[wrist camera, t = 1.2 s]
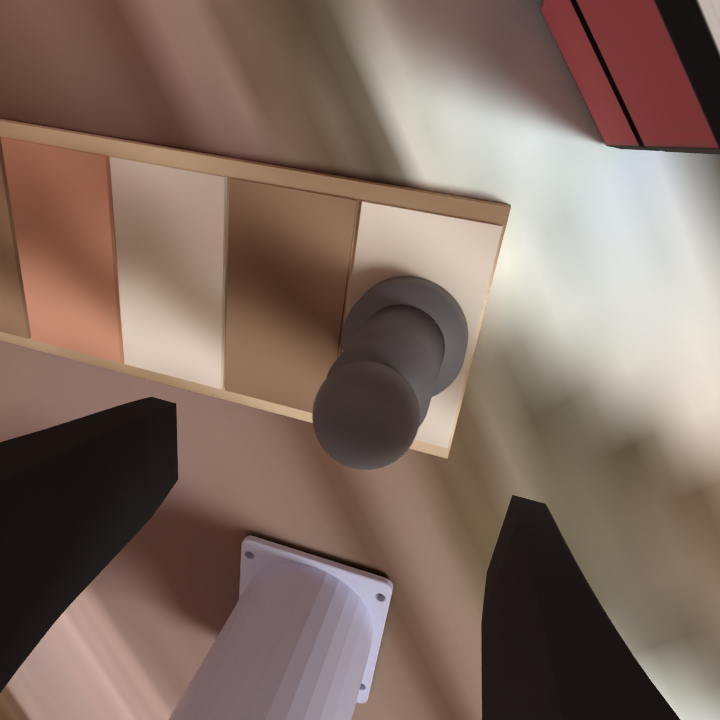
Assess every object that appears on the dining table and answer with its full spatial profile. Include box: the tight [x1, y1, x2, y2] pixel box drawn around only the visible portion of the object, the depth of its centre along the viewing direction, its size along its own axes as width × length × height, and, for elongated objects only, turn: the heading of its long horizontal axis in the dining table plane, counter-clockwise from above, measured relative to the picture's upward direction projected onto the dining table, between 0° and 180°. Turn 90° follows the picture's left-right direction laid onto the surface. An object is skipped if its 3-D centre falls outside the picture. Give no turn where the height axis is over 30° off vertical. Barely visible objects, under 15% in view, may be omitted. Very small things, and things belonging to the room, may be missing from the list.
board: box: [0, 119, 511, 458], centre depth 21 cm, size 10×25×1 cm, turn 83°
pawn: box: [312, 276, 468, 470], centre depth 15 cm, size 4×4×8 cm
